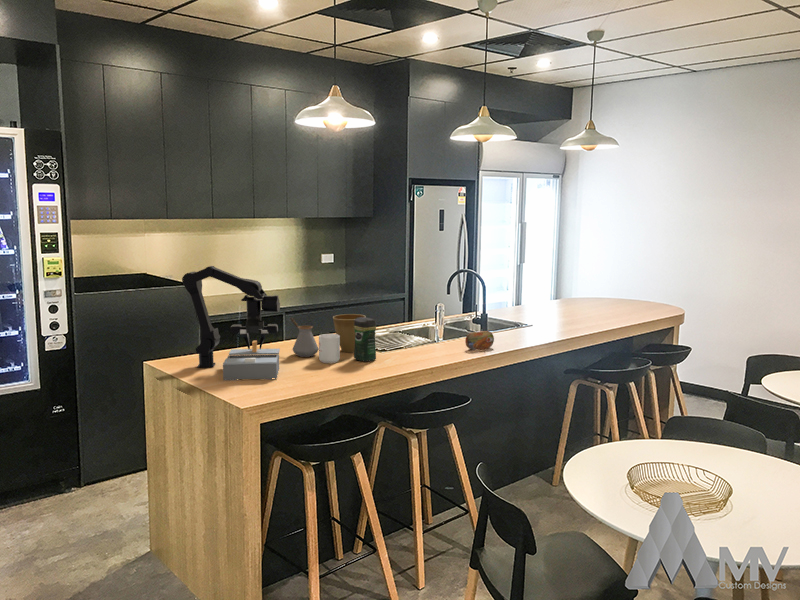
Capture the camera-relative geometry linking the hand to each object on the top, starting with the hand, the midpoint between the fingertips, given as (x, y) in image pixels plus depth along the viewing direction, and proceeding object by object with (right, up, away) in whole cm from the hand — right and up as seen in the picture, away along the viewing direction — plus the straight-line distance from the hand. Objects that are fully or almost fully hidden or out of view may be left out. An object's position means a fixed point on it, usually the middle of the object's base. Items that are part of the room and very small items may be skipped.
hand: (254, 349), depth 266 cm
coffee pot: (+15, -4, +27) cm, 31 cm away
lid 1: (0, -1, 0) cm, 1 cm away
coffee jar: (+44, -6, +16) cm, 47 cm away
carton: (+1, -9, -11) cm, 14 cm away
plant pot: (+36, -3, +33) cm, 49 cm away
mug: (+29, -6, +14) cm, 32 cm away
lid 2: (+2, -4, -15) cm, 16 cm away
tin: (+97, -3, +40) cm, 105 cm away
